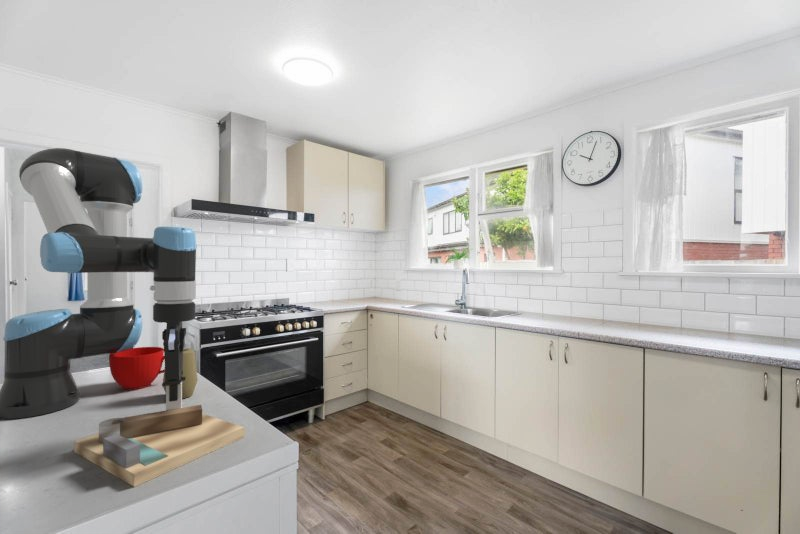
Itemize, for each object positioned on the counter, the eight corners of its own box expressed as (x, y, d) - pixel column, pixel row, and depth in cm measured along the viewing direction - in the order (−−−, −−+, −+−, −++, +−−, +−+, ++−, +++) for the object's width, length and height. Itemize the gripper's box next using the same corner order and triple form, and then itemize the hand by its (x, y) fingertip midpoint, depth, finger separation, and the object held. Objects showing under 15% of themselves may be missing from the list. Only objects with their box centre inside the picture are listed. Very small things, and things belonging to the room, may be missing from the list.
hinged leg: (96, 444, 68) (97, 428, 68) (100, 436, 71) (100, 420, 71) (202, 424, 77) (202, 410, 77) (201, 417, 80) (201, 403, 80)
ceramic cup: (171, 390, 105) (171, 354, 105) (99, 395, 100) (99, 358, 100) (183, 376, 117) (183, 345, 117) (120, 381, 112) (120, 348, 112)
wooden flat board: (74, 451, 70) (74, 425, 70) (181, 415, 87) (182, 393, 87) (134, 486, 59) (134, 455, 59) (243, 437, 76) (244, 412, 76)
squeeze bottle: (181, 403, 95) (182, 332, 95) (154, 400, 96) (155, 330, 96) (204, 392, 103) (204, 327, 103) (179, 390, 104) (179, 326, 104)
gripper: (158, 299, 82) (157, 406, 82) (147, 305, 70) (146, 430, 70) (197, 298, 85) (196, 401, 85) (193, 304, 73) (192, 423, 74)
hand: (173, 414), depth 78 cm, fingers closed
